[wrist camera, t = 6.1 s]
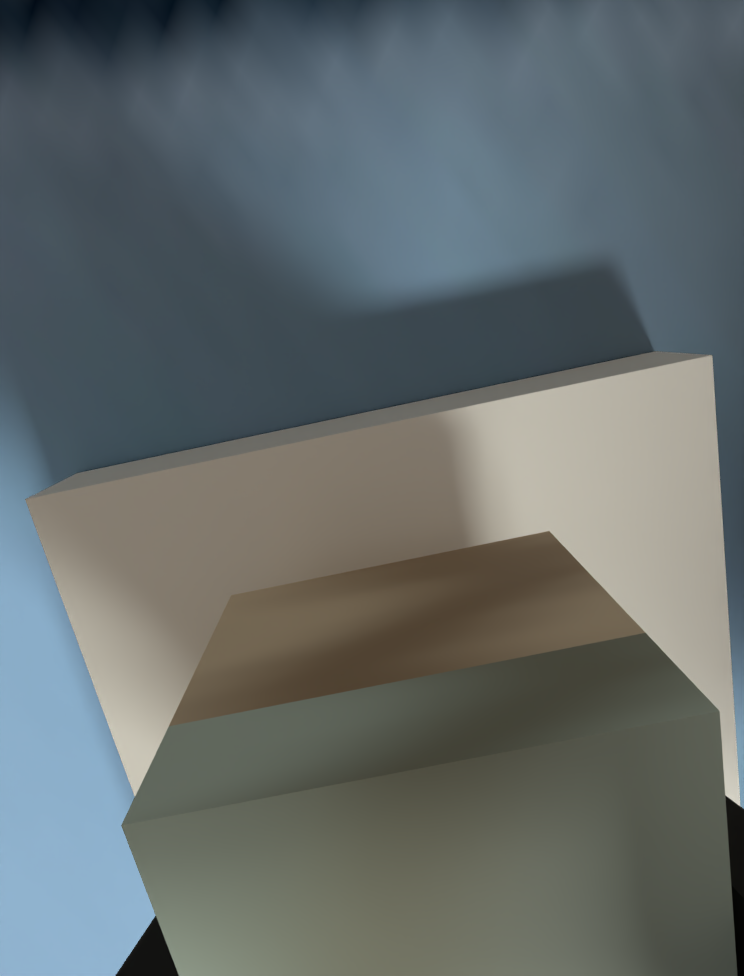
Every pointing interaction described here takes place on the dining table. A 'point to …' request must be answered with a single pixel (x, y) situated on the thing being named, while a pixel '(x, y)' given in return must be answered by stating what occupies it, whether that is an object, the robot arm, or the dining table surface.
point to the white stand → (402, 522)
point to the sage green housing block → (439, 783)
